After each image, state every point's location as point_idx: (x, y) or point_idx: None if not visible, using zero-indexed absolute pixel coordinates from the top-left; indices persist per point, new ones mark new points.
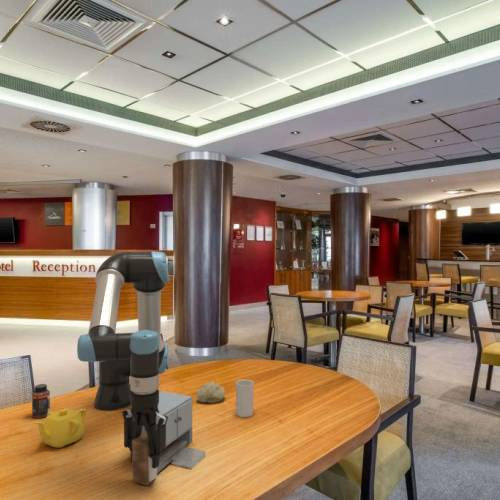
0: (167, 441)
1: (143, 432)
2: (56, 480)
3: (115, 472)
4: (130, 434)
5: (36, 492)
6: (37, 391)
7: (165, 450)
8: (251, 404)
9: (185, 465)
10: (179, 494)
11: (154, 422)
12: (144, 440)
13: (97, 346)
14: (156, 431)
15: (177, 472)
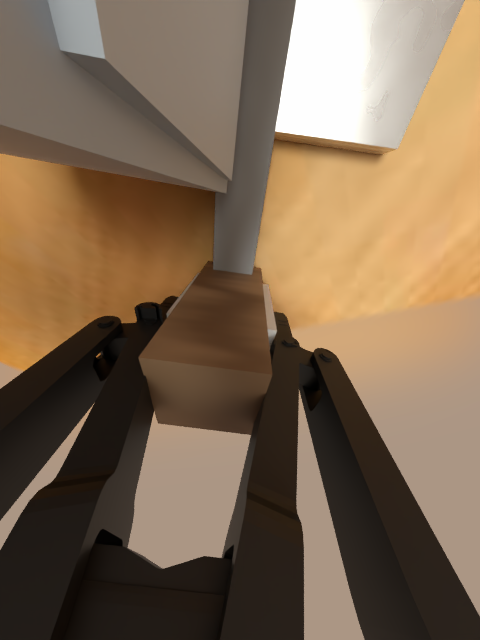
0: (242, 42)
1: (24, 154)
2: (44, 329)
3: (123, 266)
4: (83, 388)
5: None
6: None
7: (336, 359)
8: None
9: (354, 147)
10: (348, 315)
11: (285, 609)
12: (221, 418)
13: None
14: (296, 457)
15: (320, 205)
